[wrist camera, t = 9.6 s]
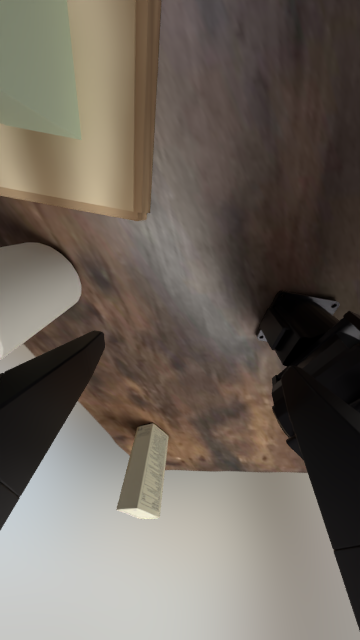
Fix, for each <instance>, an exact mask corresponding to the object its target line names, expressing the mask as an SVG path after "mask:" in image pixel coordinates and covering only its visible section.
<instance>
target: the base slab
mask: <svg viewBox="0 0 360 640" xmlns="http://www.w3.org/2000/svg"><path fill="white" fill-rule="evenodd" d="M67 7H68V17H69V26H70V35H71V45H72V54H73V64H74V73H75V82H76V92H77V101H78V110H79V120H80V129H81V139H82V140H79V139H74V138H69V137H64V136H59V135H53V134H48V133H43V132H38V131H33V130H28V129H22V128H17V127H12V126H7V125H4V124H2V123H0V196H5V197H11V198H16V199H21V200H27V201H32V202H37V203H43V204H48V205H54V206H59V207H64V208H70V209H75V210H80V211H86V212H91V213H97V214H102V215H107V216H113V217H118V218H123V219H129V220H134V221H141V220H146V219H147V213H150V204H151V185H152V167H153V148H154V129H155V110H156V92H157V73H158V54H159V35H160V17H161V0H67Z"/></svg>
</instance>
